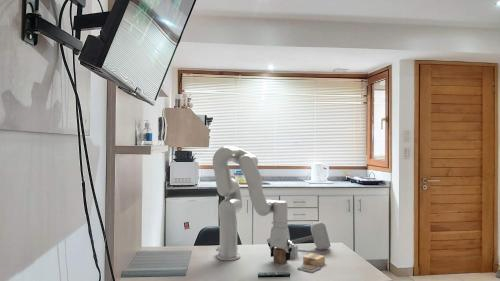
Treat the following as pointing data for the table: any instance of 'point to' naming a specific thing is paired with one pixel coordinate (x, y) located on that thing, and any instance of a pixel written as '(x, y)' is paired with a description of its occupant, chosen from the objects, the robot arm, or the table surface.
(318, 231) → the hammer
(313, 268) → the swatch tile
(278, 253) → the walnut block
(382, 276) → the table surface
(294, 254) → the grey block
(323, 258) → the oak base
